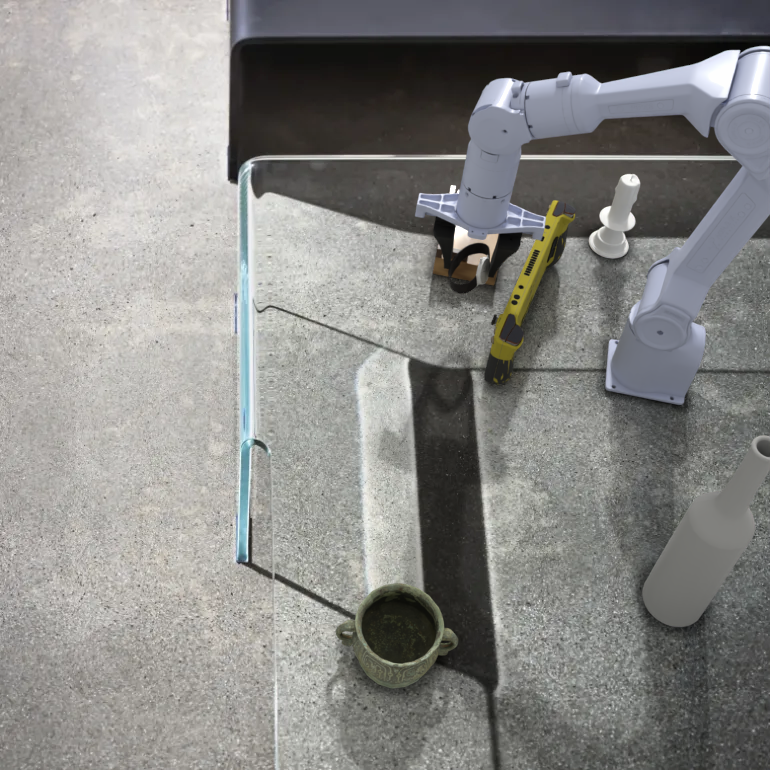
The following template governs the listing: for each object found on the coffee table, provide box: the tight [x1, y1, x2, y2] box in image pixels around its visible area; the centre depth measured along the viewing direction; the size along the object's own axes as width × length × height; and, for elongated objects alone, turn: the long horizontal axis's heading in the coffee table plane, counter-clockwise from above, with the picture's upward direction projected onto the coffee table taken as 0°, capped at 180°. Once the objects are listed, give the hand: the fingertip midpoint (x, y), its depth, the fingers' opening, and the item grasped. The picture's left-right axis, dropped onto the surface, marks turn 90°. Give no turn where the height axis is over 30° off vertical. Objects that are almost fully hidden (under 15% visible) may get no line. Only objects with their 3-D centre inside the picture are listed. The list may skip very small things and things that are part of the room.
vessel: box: [334, 582, 459, 689], centre depth 113 cm, size 12×9×6 cm
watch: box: [447, 243, 490, 295], centre depth 137 cm, size 8×5×4 cm, turn 155°
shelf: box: [432, 185, 499, 286], centre depth 149 cm, size 8×12×4 cm, turn 170°
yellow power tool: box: [483, 199, 577, 386], centre depth 140 cm, size 26×4×10 cm, turn 159°
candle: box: [588, 173, 641, 259], centre depth 149 cm, size 5×5×12 cm
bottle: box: [641, 434, 770, 628], centre depth 111 cm, size 7×7×28 cm
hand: (469, 267), depth 137 cm, fingers closed on watch, 5 cm apart
